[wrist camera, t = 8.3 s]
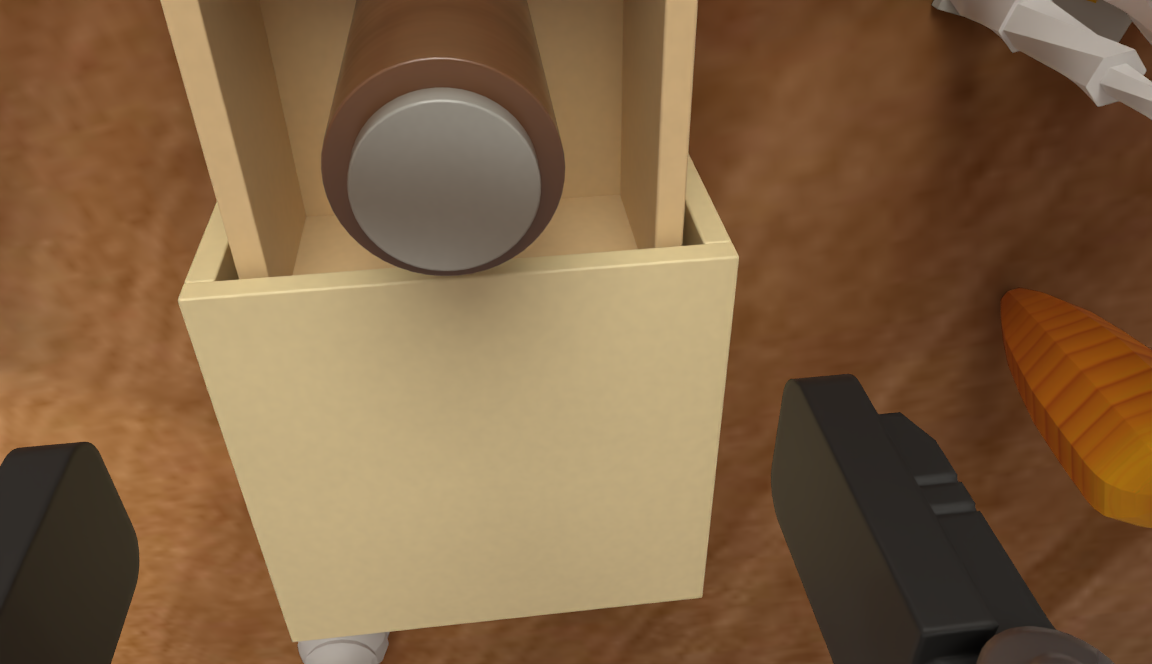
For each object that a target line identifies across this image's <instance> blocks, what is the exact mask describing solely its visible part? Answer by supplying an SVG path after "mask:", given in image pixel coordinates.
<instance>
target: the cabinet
mask: <svg viewBox="0 0 1152 664" xmlns="http://www.w3.org/2000/svg"><path fill="white" fill-rule="evenodd" d="M738 263H739V256H738V254H737V252H736V250H735V248H734V246H733V243H731V240H730V238H729V236H728V234H727V231H726V229H725V227H724V225H723V223H722V221H721V219H720V217H719V215H718V213H717V211H716V209H715V207H714V205H713V203H712V201H711V199H710V197H709V195H708V193H707V190H706V188H705V186H704V184H703V182H702V180H701V178H700V176H699V174H698V172H697V170H696V168H695V166H694V164H693V162H692V160H691V158H690V156H689V154H688V165H687V181H686V196H685V212H684V228H683V243H682V246H675V247H662V248H648V249H635V250H622V251H609V252H596V253H582V254H569V255H556V256H543V257H529V258H516V259H510V260H508V261H506V262H504V263H502V264H500V265H498V266H496V267H493V268H490V269H488V270H485V271H481V272H477V273H473V274H467V275H459V276H434V275H425V274H420V273H415V272H411V271H408V270H405V269H402V268H398V267H397V268H384V269H371V270H357V271H344V272H331V273H318V274H305V275H291V276H278V277H265V278H252V279H239V278H238V274H237V270H236V267H235V263H234V260H233V256H232V253H231V249H230V246H229V242H228V239H227V235H226V232H225V228H224V224H223V221H222V217H221V214H220V210H219V207H218V203H217V202H216V205H215V207H214V210H213V212H212V215H211V217H210V220H209V222H208V225H207V227H206V230H205V232H204V235H203V237H202V240H201V242H200V245H199V247H198V250H197V252H196V255H195V257H194V260H193V262H192V265H191V267H190V270H189V272H188V275H187V277H186V280H185V284H184V285H183V288H182V290H181V293H180V295H179V298H178V303H179V306H180V309H181V312H182V315H183V318H184V321H185V324H186V327H187V330H188V333H189V336H190V339H191V342H192V345H193V348H194V351H195V354H196V357H197V360H198V363H199V366H200V369H201V372H202V375H203V378H204V381H205V384H206V387H207V390H208V392H209V395H210V398H211V401H212V404H213V407H214V410H215V413H216V416H217V419H218V422H219V425H220V428H221V431H222V434H223V437H224V440H225V443H226V446H227V449H228V452H229V455H230V458H231V461H232V464H233V467H234V470H235V473H236V476H237V479H238V482H239V485H240V488H241V491H242V494H243V497H244V500H245V503H246V506H247V509H248V512H249V514H250V517H251V520H252V523H253V526H254V529H255V532H256V535H257V538H258V541H259V544H260V547H261V550H262V553H263V556H264V559H265V562H266V565H267V568H268V571H269V574H270V577H271V580H272V583H273V586H274V589H275V592H276V595H277V598H278V601H279V604H280V607H281V610H282V613H283V616H284V619H285V622H286V625H287V628H288V631H289V634H290V636H291V639H292V642H300V641H309V640H318V639H327V638H336V637H345V636H355V635H364V634H373V633H382V632H391V631H400V630H410V629H419V628H428V627H437V626H446V625H455V624H465V623H474V622H483V621H492V620H501V619H511V618H520V617H529V616H538V615H547V614H556V613H566V612H575V611H584V610H593V609H602V608H611V607H621V606H630V605H639V604H648V603H657V602H666V601H676V600H685V599H694V598H701V597H702V594H703V585H704V576H705V567H706V557H707V548H708V539H709V530H710V521H711V511H712V502H713V493H714V484H715V475H716V465H717V456H718V447H719V438H720V429H721V419H722V410H723V401H724V392H725V383H726V373H727V364H728V355H729V346H730V337H731V327H732V318H733V309H734V300H735V291H736V282H737V272H738Z"/></svg>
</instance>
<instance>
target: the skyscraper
mask: <svg viewBox="0 0 1152 664" xmlns="http://www.w3.org/2000/svg"><path fill="white" fill-rule="evenodd" d="M932 5H933V6H934V7H935V8H937V9H939V10H943V11H946V12H949V13H953V14H956V15H959V16H963V17H966V18H968V19H971V20H973V21H975V22H978V23H980V24H982V25H984V26H986V27H988V28H989V29H991V30H992V31H994V32H995V33H996V34H997V35H998V36H999V37H1000V38H1001V39H1002V40H1003V41H1004V42H1005V43H1006V44H1007V46H1008V47H1009V49H1010V50H1011V52H1012V53H1014V52H1017V51H1021V52H1023V53H1025V54H1026V55H1028V56H1030V57H1032V58H1034V59H1036V60H1037V61H1039V62H1041V63H1043V64H1045V65H1047V66H1048V67H1050V68H1052V69H1054V70H1056V71H1057V72H1059V73H1061V74H1063V75H1064V76H1066V77H1067V78H1069V79H1070V80H1071V81H1073V82H1074V83H1075V84H1076V85H1078V86H1079V87H1080V88H1081V89H1082V90H1083V91H1084V92H1085V93H1086V94H1087V95H1088V96H1089V97H1090V98H1091V100H1092V101H1093V102H1094V103H1095V104H1096V105H1097V106H1098V107H1099V106H1103V105H1107V104H1111V103H1114V102H1118V101H1120V102H1122V103H1124V104H1125V105H1127V106H1129V107H1131V108H1133V109H1134V110H1136V111H1138V112H1140V113H1142V114H1143V115H1145V116H1147V117H1148V118H1150V119H1151V120H1152V82H1151V81H1150V80H1149V79H1147V78H1146V77H1144V76H1143V75H1144V74H1145V72H1146V71H1147V70H1146V68H1145V67H1144V65H1143V63H1142V61H1141V59H1140V58H1139V56H1138V54H1137V52H1136V50H1135V49H1133V48H1130V47H1128V46H1125V45H1122V44H1120V43H1119V41H1120V40H1121V38H1122V36H1123V35H1124V33H1125V32H1126V30H1127V29H1128V27H1129V25H1130V24H1131V22H1132V21H1133V23H1134V24H1135V25H1136V27H1137V28H1138V29H1139V30H1140V32H1141V33H1142V34H1143V35H1144V37H1145V38H1146V39H1147V40H1148V41H1149V43H1150V44H1151V45H1152V0H934V1H933V3H932Z"/></svg>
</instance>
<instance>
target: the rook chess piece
mask: <svg viewBox="0 0 1152 664" xmlns="http://www.w3.org/2000/svg"><path fill="white" fill-rule="evenodd" d="M389 633H390V632H382V633H373V634H364V635H355V636H345V637H336V638H327V639H318V640H309V641H300V642H298V650H299V654H300V656H301V659H302V661H303V663H305V664H379V663H380V662H381V661H382V660H383V658H384V655H385V653H386V650H387V647H388V645H389V643H388V640H387V638H388V635H389Z"/></svg>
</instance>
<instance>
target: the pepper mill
mask: <svg viewBox="0 0 1152 664" xmlns="http://www.w3.org/2000/svg"><path fill="white" fill-rule="evenodd" d="M321 173H322V181H323V186H324V189H325V193H326V196H327V199H328V201H329V203H330V206H331V208H332V210H333V212H334V214H335V215H336V217H337V219H338V220H339V222H340V223H341V225H342V226H343V227H344V228H345V230H346V231H347V232H348V233H349V235H350V236H351V237H352V238H354V239H355V240H356V241H357V242H358V243H359V244H360V245H361V246H362V247H363V248H365V249H366V250H367V251H369V252H370V253H371V254H373V255H375V256H376V257H378V258H380V259H381V260H383V261H385V262H387V263H389V264H392V265H394V266H396V267H398V268H402V269H405V270H408V271H411V272H415V273H420V274H425V275H434V276H459V275H467V274H473V273H477V272H481V271H485V270H488V269H490V268H493V267H496V266H498V265H500V264H502V263H504V262H506V261H508V260H510V259H512V258H514V257H515V256H517V255H518V254H520V253H521V252H523V251H524V250H525V249H526V248H527V247H528V246H530V245H531V244H532V243H533V242H534V241H535V240H536V239H537V238H538V237H539V236H540V234H541V233H542V232H543V231H544V230H545V228H546V227H547V225H548V224H549V222H550V221H551V219H552V217H553V215H554V213H555V211H556V209H557V207H558V205H559V202H560V199H561V196H562V192H563V187H564V181H565V157H564V150H563V146H562V142H561V138H560V134H559V130H558V126H557V121H556V117H555V113H554V109H553V105H552V101H551V97H550V93H549V89H548V85H547V80H546V76H545V72H544V68H543V64H542V60H541V56H540V52H539V48H538V44H537V39H536V35H535V31H534V27H533V23H532V19H531V15H530V11H529V7H528V3H527V0H356V4H355V8H354V12H353V17H352V21H351V25H350V29H349V34H348V38H347V42H346V46H345V51H344V55H343V59H342V63H341V68H340V72H339V76H338V81H337V85H336V89H335V93H334V98H333V102H332V106H331V110H330V115H329V119H328V123H327V127H326V132H325V136H324V140H323V146H322V152H321Z"/></svg>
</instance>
